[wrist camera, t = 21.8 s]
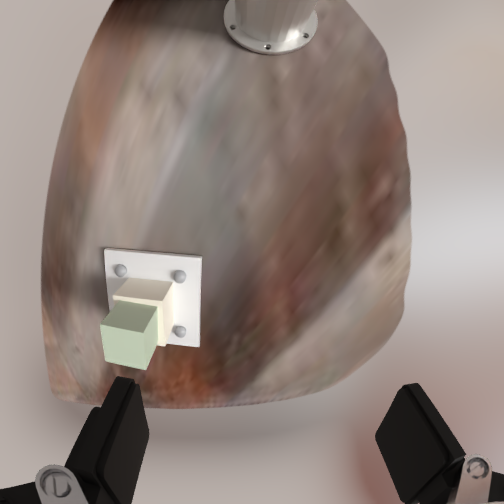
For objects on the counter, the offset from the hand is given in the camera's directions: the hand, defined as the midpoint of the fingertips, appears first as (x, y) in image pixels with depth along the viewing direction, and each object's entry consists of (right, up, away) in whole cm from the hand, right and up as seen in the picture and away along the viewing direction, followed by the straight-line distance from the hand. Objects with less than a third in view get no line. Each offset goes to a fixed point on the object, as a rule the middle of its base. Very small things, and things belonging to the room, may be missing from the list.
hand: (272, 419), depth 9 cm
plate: (-15, -1, +31) cm, 35 cm away
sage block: (-15, -3, +25) cm, 29 cm away
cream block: (-15, -1, +30) cm, 34 cm away
